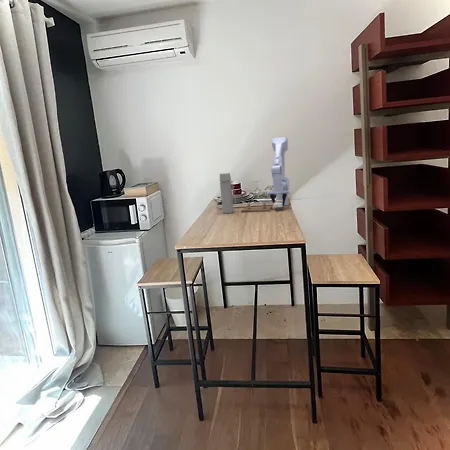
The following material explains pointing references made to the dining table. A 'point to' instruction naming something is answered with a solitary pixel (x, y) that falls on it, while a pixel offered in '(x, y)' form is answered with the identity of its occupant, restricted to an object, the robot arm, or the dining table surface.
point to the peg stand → (256, 208)
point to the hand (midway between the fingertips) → (279, 206)
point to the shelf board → (278, 203)
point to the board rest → (279, 208)
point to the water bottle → (226, 193)
